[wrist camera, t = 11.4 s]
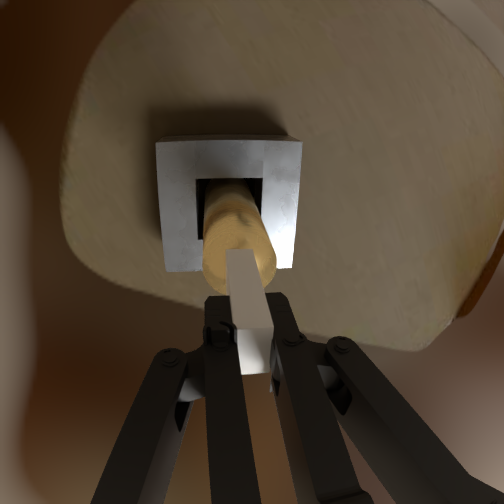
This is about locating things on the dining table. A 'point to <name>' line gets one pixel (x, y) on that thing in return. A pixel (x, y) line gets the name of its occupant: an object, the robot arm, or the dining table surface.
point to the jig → (226, 166)
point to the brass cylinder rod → (233, 231)
